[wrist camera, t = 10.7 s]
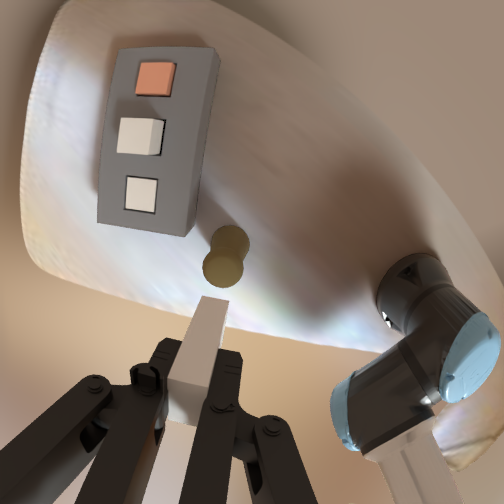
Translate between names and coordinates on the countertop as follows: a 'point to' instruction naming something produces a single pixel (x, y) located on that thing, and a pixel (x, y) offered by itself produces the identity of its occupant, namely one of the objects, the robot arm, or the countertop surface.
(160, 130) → the cream white cube
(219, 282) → the cork
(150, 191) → the cream square button
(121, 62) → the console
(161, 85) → the terracotta button
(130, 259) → the countertop surface
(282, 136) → the countertop surface
